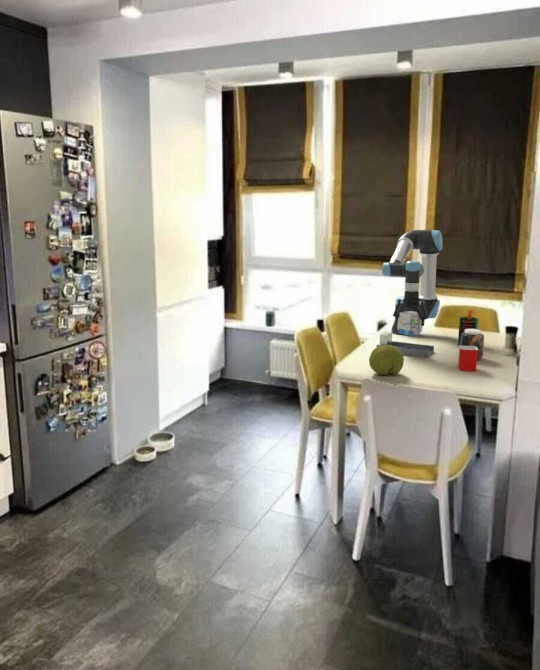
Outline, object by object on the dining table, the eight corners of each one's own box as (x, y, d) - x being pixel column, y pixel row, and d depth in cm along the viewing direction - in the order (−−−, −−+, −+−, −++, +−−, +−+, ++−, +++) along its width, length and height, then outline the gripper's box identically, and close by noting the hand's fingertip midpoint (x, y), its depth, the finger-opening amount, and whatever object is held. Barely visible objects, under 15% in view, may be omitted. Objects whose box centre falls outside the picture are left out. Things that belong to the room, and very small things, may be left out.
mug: (477, 371, 276) (478, 350, 274) (459, 370, 278) (460, 349, 275) (473, 365, 288) (475, 344, 285) (456, 364, 289) (457, 343, 287)
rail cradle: (384, 346, 327) (385, 330, 325) (433, 352, 314) (434, 335, 312) (376, 351, 315) (376, 335, 313) (427, 357, 302) (428, 340, 300)
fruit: (389, 381, 261) (374, 351, 261) (372, 384, 274) (358, 355, 274) (414, 365, 267) (400, 336, 267) (397, 369, 280) (383, 341, 280)
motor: (457, 345, 329) (459, 311, 325) (458, 342, 338) (460, 308, 333) (476, 347, 326) (478, 312, 322) (476, 344, 334) (479, 310, 330)
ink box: (408, 335, 306) (409, 314, 303) (398, 333, 313) (399, 311, 311) (420, 334, 309) (422, 313, 307) (410, 331, 317) (411, 310, 314)
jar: (455, 358, 301) (457, 330, 298) (464, 354, 310) (466, 327, 306) (477, 362, 293) (479, 333, 290) (486, 358, 302) (488, 330, 299)
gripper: (388, 289, 309) (386, 329, 313) (432, 292, 297) (429, 334, 302) (392, 288, 315) (390, 327, 320) (435, 291, 304) (433, 331, 308)
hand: (409, 330), depth 311 cm, fingers closed on ink box, 11 cm apart
